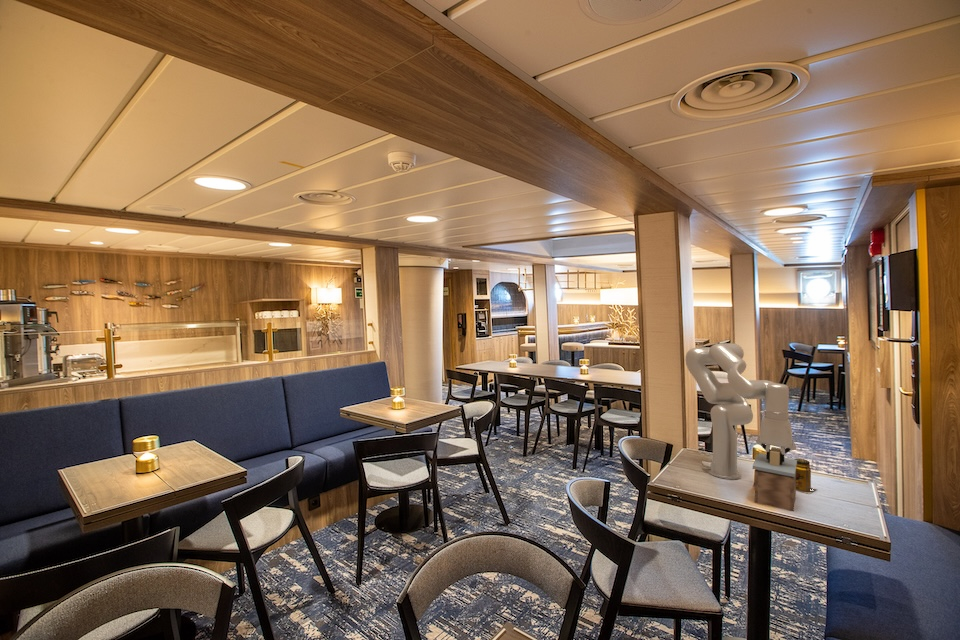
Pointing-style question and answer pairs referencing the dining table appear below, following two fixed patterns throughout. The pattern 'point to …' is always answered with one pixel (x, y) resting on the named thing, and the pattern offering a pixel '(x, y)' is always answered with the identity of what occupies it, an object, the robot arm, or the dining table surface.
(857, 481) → the dining table surface
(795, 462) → the lid
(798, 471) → the condiment
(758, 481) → the box
